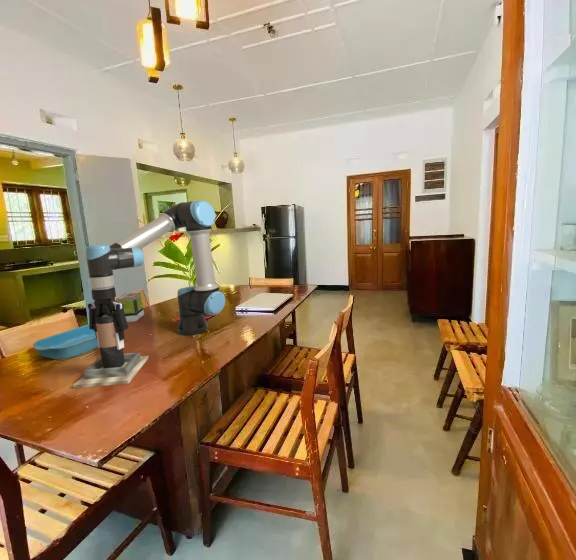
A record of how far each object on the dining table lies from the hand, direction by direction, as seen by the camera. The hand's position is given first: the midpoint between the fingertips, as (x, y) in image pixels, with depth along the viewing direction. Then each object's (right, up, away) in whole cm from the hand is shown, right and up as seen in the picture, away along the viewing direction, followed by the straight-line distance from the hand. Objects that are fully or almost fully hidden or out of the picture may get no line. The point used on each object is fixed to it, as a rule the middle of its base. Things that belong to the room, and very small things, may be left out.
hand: (111, 347), depth 121 cm
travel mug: (0, -7, +1) cm, 7 cm away
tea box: (-29, +1, +76) cm, 81 cm away
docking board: (0, -9, +2) cm, 10 cm away
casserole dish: (-30, -7, +30) cm, 43 cm away
